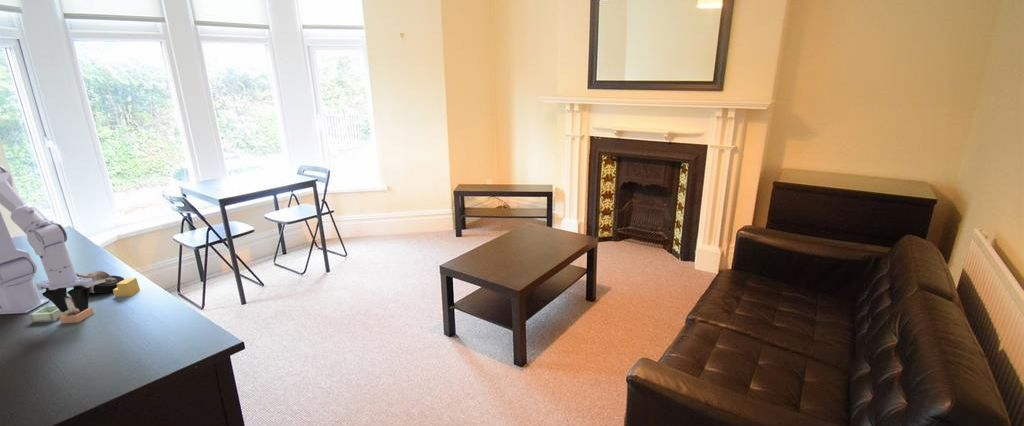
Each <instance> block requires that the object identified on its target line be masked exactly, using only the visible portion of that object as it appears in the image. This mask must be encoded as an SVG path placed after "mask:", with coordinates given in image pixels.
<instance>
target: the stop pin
mask: <svg viewBox="0 0 1024 426" xmlns="http://www.w3.org/2000/svg"><path fill="white" fill-rule="evenodd" d="M64 300H65V302H66V305H67V308H68V310H69V313H70V315H77V314H79V313H81V312H82V311H80V310H79V309H78V307H77V305H76V303H75V301H74V300H73V298H72V297H71V296H70V295H69V294H68V295H67V296H66V297H64Z"/></svg>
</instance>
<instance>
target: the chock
mask: <svg viewBox="0 0 1024 426" xmlns="http://www.w3.org/2000/svg"><path fill="white" fill-rule="evenodd" d="M139 290H140V285H139V283H138V279H137V278H136V277H128V278H124V280H123V281H121V282H119V283H117V288H115V289H114V290H113V292H112V293H113V295H114V298H117V297H131V296H134V295H135V294H136V293H138V292H139ZM140 291H141V290H140Z"/></svg>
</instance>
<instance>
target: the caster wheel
mask: <svg viewBox="0 0 1024 426" xmlns="http://www.w3.org/2000/svg"><path fill="white" fill-rule="evenodd" d="M75 273H76V275H77V277H81V278H88V279H93V282H94V285H93V286H91V289H90V292H89V293H93V294H96V293H97V294H109V293H112V294H113V293H114V292H113V290H114V289H115V288H117V283H119V282H121V281H123V280H124V279H125V278H124V277H122V276H121V275H120V276H119V275H111V274H109V273H108V272H105V271H103V270H102V271H101V270H100V271H99V270H98V271H93V272H92V271H91V272H87V273H83V274H78V273H77V272H75Z"/></svg>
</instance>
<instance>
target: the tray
mask: <svg viewBox="0 0 1024 426" xmlns="http://www.w3.org/2000/svg"><path fill="white" fill-rule="evenodd" d="M67 312H69V310H67V311H65V312H61V311H60V310H59V309H58V308H57V306H56V305H55V304H49V305H48V304H47V305H45V306H43V307H41V308H39V309H37V310H35V311H33V312H31V313H30V314H29V317H30V320H31V322H32V323H46V322H50V323H51V322H56V321H58V320H60V316H62V315H64V314H65V313H67Z"/></svg>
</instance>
